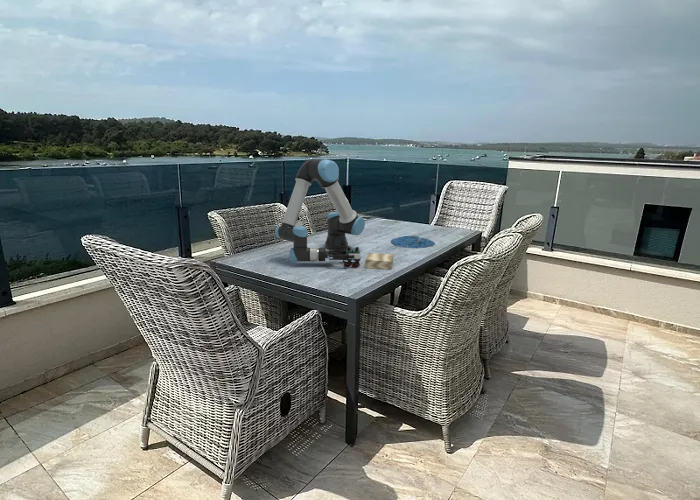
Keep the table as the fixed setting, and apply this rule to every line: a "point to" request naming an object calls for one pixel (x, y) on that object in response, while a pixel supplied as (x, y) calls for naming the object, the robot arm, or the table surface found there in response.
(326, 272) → the table surface
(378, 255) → the birch block
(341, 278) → the table surface
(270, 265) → the table surface
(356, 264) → the binoculars
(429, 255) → the table surface
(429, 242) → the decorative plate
